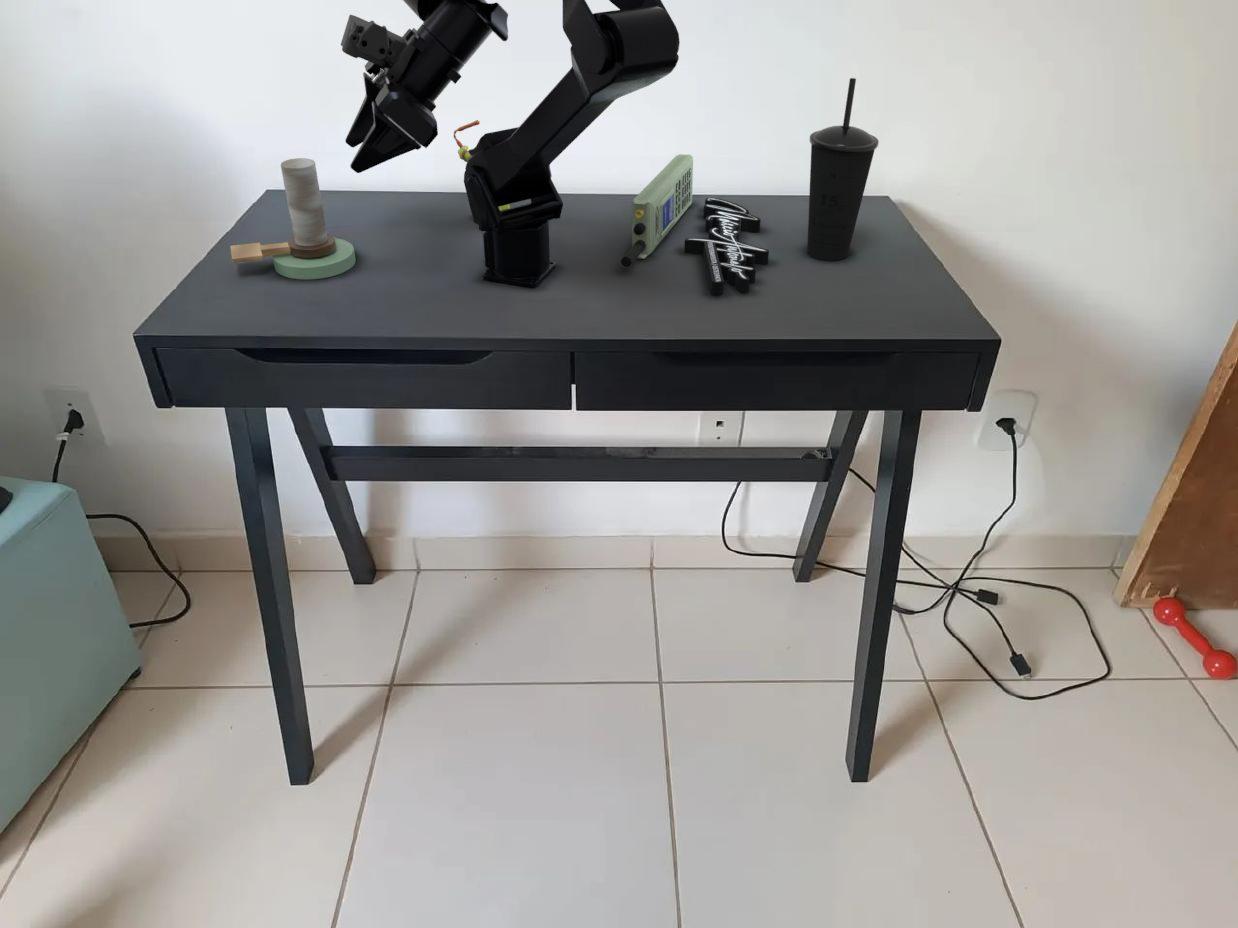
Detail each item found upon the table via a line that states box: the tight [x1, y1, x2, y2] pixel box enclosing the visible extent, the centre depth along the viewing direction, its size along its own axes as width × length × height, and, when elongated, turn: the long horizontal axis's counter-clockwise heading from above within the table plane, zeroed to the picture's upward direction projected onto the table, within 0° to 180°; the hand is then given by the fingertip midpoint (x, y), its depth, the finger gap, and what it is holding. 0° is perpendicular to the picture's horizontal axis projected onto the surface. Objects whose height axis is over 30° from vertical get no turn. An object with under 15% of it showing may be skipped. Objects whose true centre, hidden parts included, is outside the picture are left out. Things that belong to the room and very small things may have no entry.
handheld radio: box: [620, 153, 694, 268], centre depth 116 cm, size 7×3×25 cm
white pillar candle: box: [230, 157, 336, 264], centre depth 104 cm, size 11×5×10 cm, turn 111°
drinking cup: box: [806, 77, 879, 262], centre depth 108 cm, size 8×8×20 cm
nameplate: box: [683, 197, 770, 297], centre depth 115 cm, size 27×2×10 cm
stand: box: [271, 237, 356, 281], centre depth 109 cm, size 9×9×2 cm
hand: (351, 157), depth 103 cm, fingers open, 9 cm apart
